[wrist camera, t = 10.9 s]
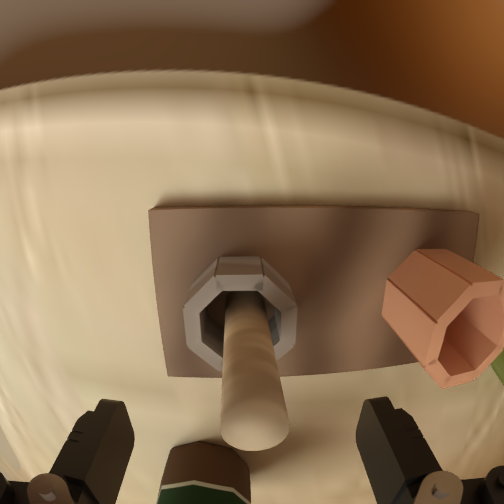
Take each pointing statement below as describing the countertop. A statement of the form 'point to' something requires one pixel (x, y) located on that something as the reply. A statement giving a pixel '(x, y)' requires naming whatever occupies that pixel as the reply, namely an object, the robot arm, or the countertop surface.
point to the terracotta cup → (446, 314)
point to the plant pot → (499, 366)
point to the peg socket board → (291, 279)
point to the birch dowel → (250, 377)
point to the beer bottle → (204, 476)
